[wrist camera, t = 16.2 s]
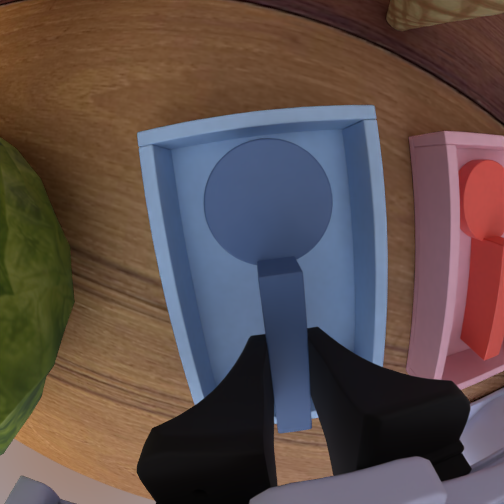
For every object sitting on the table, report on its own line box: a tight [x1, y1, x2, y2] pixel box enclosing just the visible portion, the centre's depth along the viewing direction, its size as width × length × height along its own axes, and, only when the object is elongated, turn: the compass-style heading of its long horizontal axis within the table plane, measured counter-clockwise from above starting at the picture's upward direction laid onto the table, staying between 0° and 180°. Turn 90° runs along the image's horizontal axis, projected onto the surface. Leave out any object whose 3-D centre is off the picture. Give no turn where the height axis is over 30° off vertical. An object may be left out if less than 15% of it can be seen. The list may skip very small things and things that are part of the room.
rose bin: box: [406, 131, 504, 390], centre depth 14 cm, size 14×9×4 cm, turn 7°
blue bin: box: [137, 105, 388, 424], centre depth 14 cm, size 14×9×4 cm, turn 7°
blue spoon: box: [203, 138, 333, 433], centre depth 11 cm, size 11×5×3 cm, turn 7°
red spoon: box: [458, 160, 504, 361], centre depth 14 cm, size 11×5×3 cm, turn 7°
